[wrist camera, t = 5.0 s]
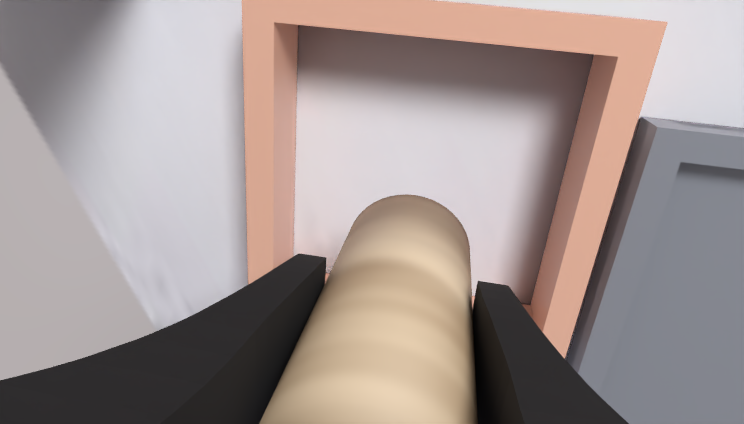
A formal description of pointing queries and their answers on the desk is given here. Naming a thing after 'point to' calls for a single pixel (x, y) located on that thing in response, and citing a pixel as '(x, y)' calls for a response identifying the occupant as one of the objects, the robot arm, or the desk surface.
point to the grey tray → (671, 281)
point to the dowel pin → (388, 326)
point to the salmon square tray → (471, 24)
